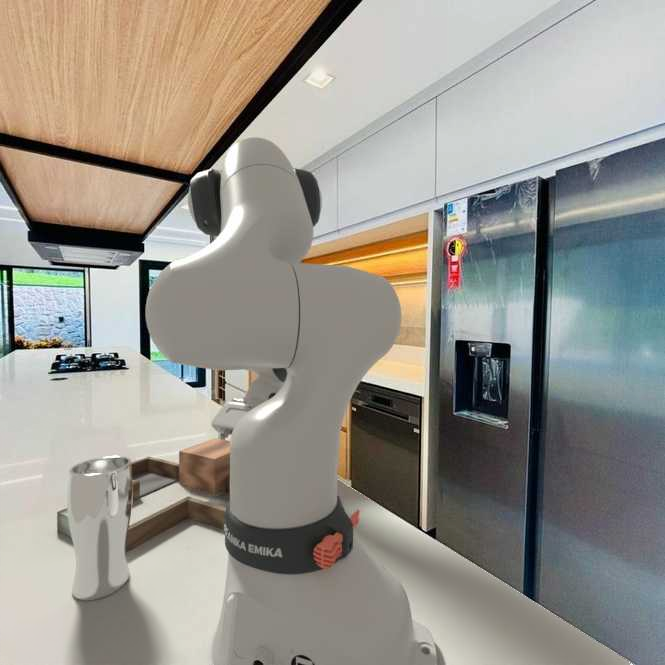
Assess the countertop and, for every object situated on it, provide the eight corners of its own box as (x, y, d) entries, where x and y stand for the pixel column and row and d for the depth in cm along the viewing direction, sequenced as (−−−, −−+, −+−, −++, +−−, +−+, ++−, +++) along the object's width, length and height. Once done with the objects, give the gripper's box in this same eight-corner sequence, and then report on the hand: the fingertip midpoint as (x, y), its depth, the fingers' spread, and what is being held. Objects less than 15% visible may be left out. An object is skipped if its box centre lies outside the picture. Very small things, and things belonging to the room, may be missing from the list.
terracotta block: (249, 476, 80) (249, 444, 80) (215, 494, 72) (214, 459, 72) (215, 468, 85) (215, 438, 85) (179, 484, 76) (179, 451, 76)
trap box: (301, 484, 76) (301, 469, 76) (164, 580, 47) (164, 556, 47) (183, 456, 92) (183, 444, 92) (25, 515, 63) (25, 498, 63)
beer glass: (131, 559, 51) (130, 452, 51) (135, 589, 45) (135, 468, 45) (69, 577, 47) (69, 461, 47) (65, 612, 42) (65, 480, 41)
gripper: (223, 390, 95) (193, 438, 86) (290, 397, 85) (263, 452, 77) (235, 405, 99) (208, 452, 90) (300, 413, 89) (276, 466, 81)
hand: (234, 452), depth 83 cm, fingers open, 8 cm apart
